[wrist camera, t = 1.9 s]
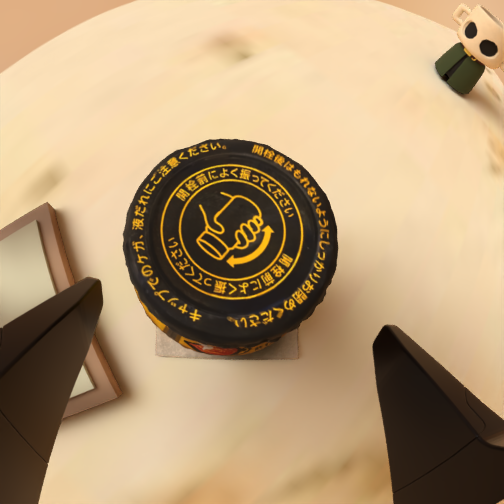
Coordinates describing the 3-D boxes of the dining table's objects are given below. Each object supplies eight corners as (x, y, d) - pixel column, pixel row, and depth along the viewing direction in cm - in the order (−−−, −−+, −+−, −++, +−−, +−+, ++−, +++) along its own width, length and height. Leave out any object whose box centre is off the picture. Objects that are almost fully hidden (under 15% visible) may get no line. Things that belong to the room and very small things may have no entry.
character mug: (412, 53, 30) (458, -11, 17) (434, 51, 32) (475, -3, 19) (467, 114, 28) (527, 57, 16) (482, 106, 30) (534, 57, 18)
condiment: (163, 236, 19) (120, 103, 7) (296, 244, 20) (402, 139, 8) (156, 355, 17) (77, 391, 5) (296, 358, 18) (428, 383, 6)
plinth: (122, 393, 16) (116, 398, 14) (-8, 439, 12) (-19, 443, 11) (54, 208, 18) (45, 200, 16) (-57, 281, 14) (-68, 277, 13)
